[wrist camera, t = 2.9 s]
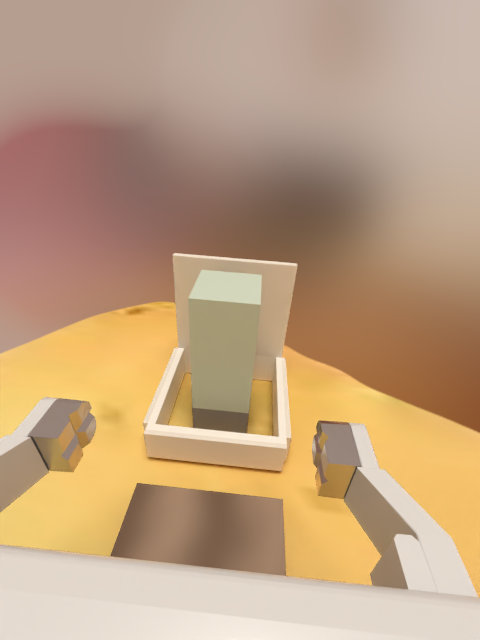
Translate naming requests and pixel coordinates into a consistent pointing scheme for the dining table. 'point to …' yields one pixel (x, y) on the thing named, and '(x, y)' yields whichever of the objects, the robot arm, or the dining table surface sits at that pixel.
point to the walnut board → (203, 529)
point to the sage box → (223, 348)
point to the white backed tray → (266, 367)
